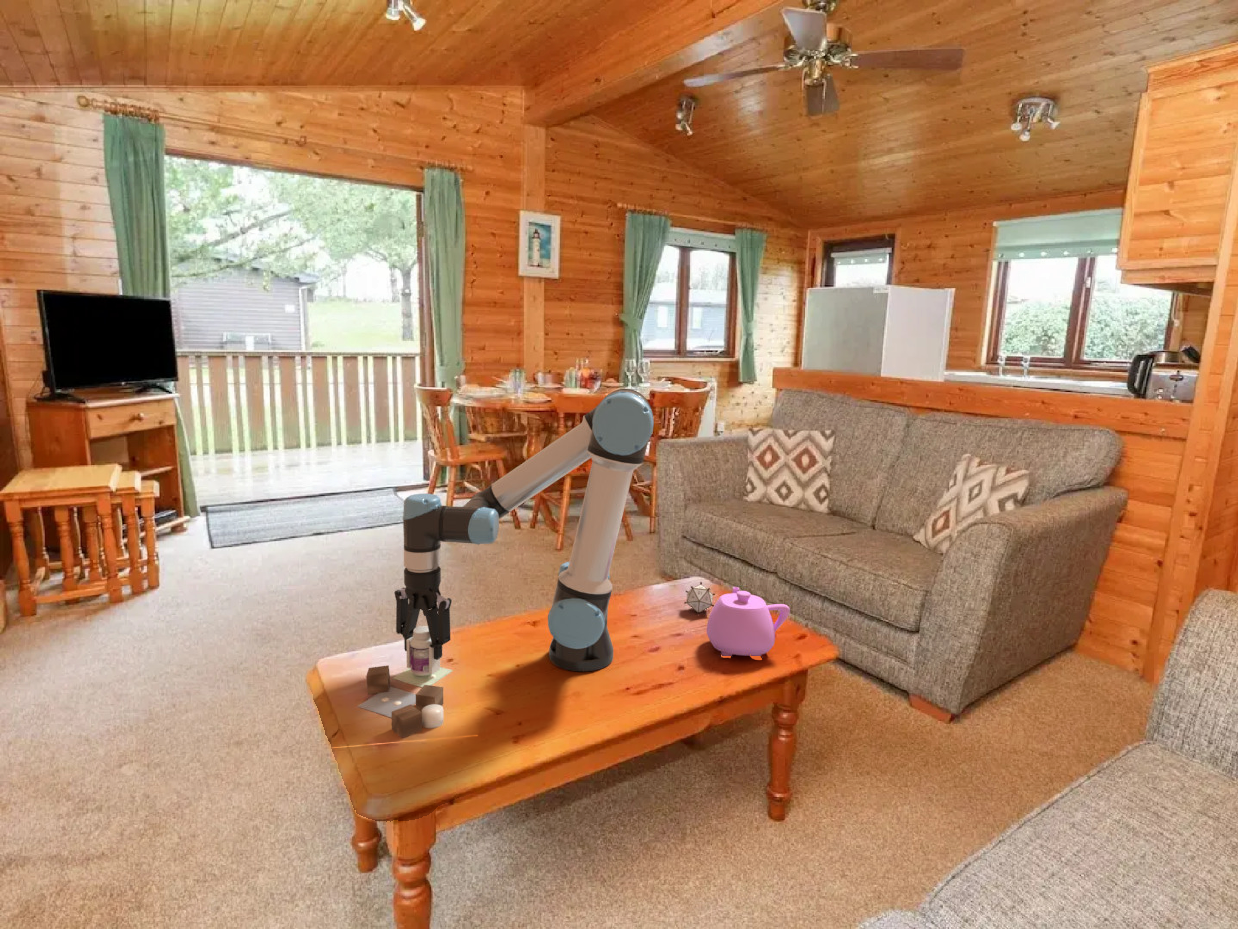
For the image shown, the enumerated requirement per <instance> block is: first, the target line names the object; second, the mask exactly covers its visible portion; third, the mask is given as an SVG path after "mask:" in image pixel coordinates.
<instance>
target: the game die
mask: <svg viewBox="0 0 1238 929" xmlns="http://www.w3.org/2000/svg"><path fill="white" fill-rule="evenodd" d="M710 590H711V588H710V587H708V588H707V587H705V586H704V585H703V582H702V581H700V583H699V584H698V585H696V586H693V585H691V586H690V589H689V591H688V590H685V593H687V594H686V595H687V596H686V601H684V602H683V604H684V605H685V604H687V605H688V606H689V608H690V607H692V608H691V609H693V610H694V611H695V612H696V613H698V612H700V613H702V612H704V611H706V610H707V608H708V609H710V607H712V608H713V607H714V605H715V604H713V598H714V597H713V596H716V593H712V592H711V591H710ZM705 609H706V610H705ZM703 610H704V611H703Z"/></svg>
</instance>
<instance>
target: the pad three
mask: <svg viewBox="0 0 1238 929" xmlns="http://www.w3.org/2000/svg"><path fill="white" fill-rule="evenodd" d="M453 671H454V670H452V669H450V668H446V667H441V666H440V670H438V671H437V672H435V673H434V674H432V675H431V674H429V675H425V676H418V675H414V674H413V673H412V672H411V668H407V669H405V670H403V671H402V672H399V674H397V675H395V676H393V677H392V680H396V681H399V682H401V683H406V684H409V685H412V686H415V687H419V688H420V689H421V688H422V687H423V686H424V685H431V686H434V684H436V683H437V682H438V681H440V680H442V679H444V677H447V675H450V674H451V673H452V672H453Z"/></svg>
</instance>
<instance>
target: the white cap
mask: <svg viewBox="0 0 1238 929" xmlns="http://www.w3.org/2000/svg"><path fill="white" fill-rule="evenodd" d="M443 724H444V707H443V705H442V706H441V705H437V704H432V705H428V706H425V707H424V708H423V709H422V727H423V728H425V729H436V728H439V727H441V726H442V725H443Z"/></svg>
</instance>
